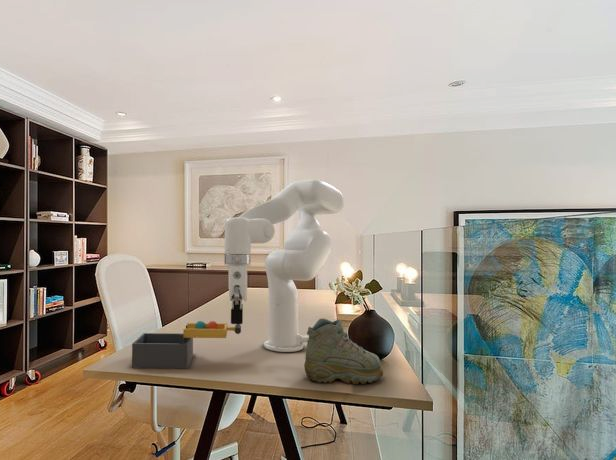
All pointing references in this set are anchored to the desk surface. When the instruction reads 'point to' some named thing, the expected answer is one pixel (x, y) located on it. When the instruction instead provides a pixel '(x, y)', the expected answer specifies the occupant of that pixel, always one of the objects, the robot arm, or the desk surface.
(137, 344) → the bin
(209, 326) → the terracotta ball
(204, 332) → the tipping tray
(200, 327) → the teal ball
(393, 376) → the desk surface
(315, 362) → the sneaker
